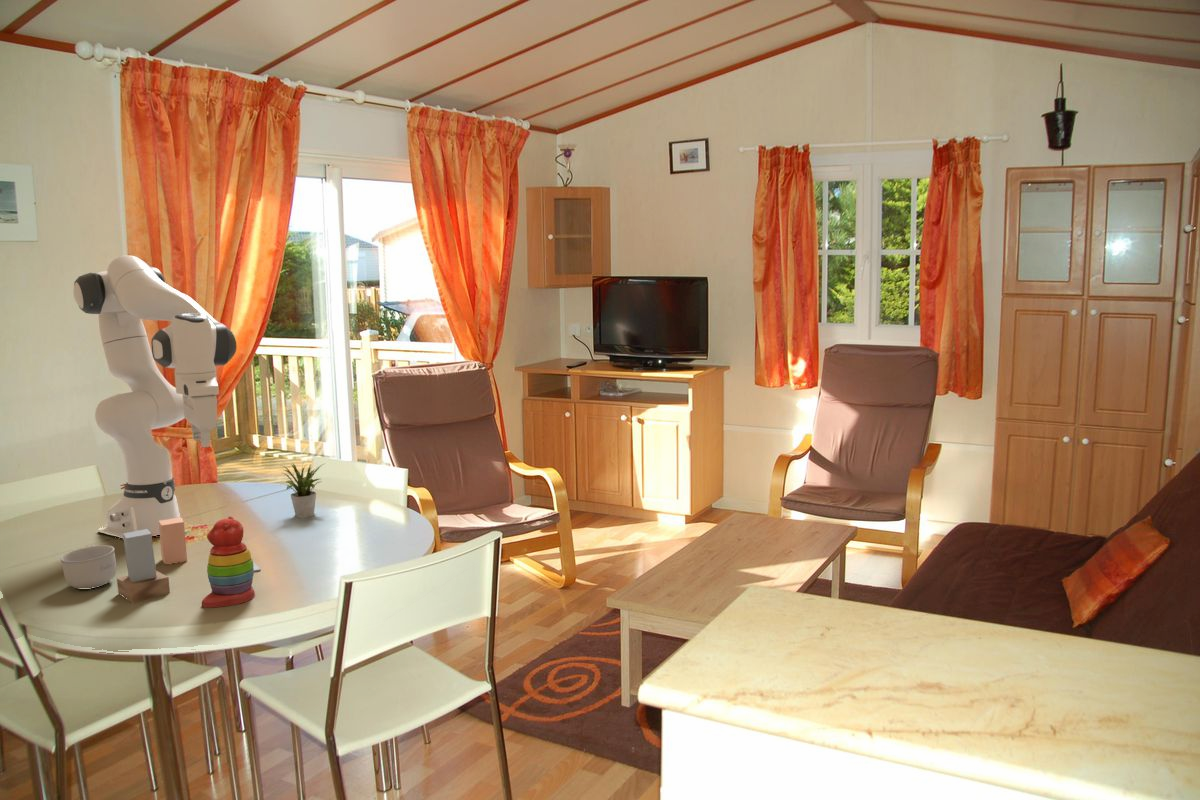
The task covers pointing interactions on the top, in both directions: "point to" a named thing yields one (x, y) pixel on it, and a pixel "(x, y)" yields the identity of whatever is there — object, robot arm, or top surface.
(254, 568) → the slate swatch
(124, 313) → the robot arm
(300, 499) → the house plant
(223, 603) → the stacking bear
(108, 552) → the teacup
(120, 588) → the walnut block
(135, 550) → the slate pillar
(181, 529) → the terracotta pillar
